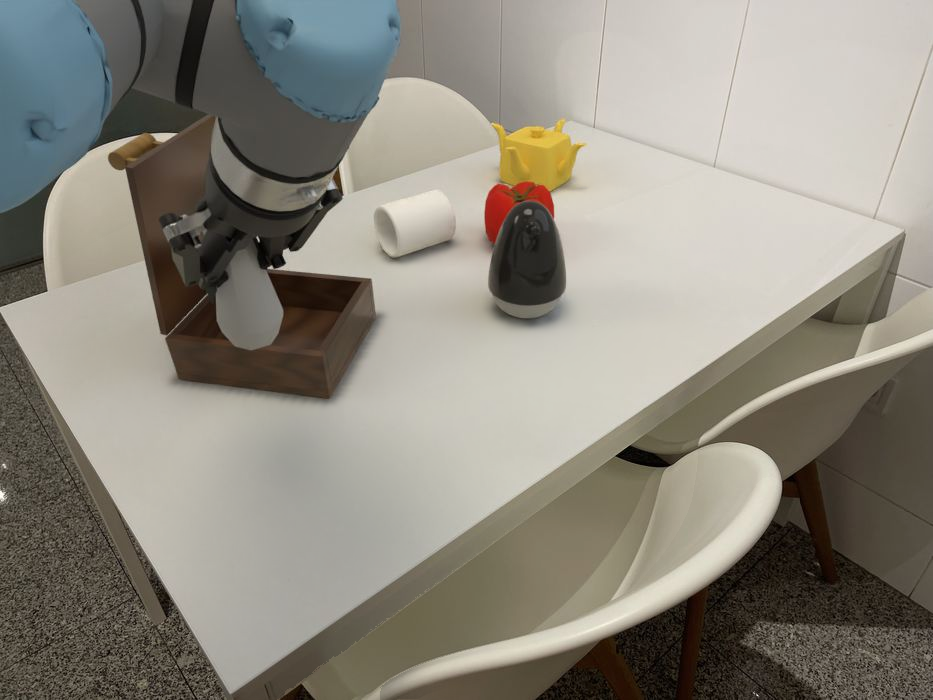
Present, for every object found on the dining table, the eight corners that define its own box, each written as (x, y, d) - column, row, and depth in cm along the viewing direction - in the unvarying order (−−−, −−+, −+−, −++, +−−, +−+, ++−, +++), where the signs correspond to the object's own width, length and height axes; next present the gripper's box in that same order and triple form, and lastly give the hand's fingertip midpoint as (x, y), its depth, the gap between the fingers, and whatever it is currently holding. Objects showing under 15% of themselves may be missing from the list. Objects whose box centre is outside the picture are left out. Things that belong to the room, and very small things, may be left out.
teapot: (490, 167, 134) (490, 117, 128) (562, 162, 135) (565, 112, 130) (505, 199, 122) (506, 145, 116) (583, 192, 124) (588, 139, 118)
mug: (457, 247, 108) (455, 199, 103) (401, 266, 103) (397, 217, 99) (417, 220, 116) (414, 174, 111) (364, 236, 112) (358, 189, 107)
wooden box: (376, 317, 93) (371, 278, 89) (329, 399, 79) (322, 356, 76) (244, 303, 96) (235, 265, 92) (178, 379, 83) (164, 338, 79)
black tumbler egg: (492, 332, 89) (492, 223, 80) (484, 290, 98) (484, 187, 89) (571, 327, 90) (580, 219, 81) (557, 286, 98) (563, 183, 89)
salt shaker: (295, 343, 64) (268, 212, 56) (232, 363, 61) (195, 229, 54) (276, 313, 68) (249, 187, 60) (217, 330, 66) (180, 202, 58)
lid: (219, 112, 80) (164, 102, 81) (132, 168, 67) (67, 156, 67) (237, 263, 92) (189, 253, 93) (167, 335, 79) (111, 324, 79)
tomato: (485, 261, 104) (484, 205, 99) (484, 225, 114) (483, 172, 109) (556, 260, 104) (560, 204, 99) (549, 224, 114) (552, 171, 108)
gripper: (172, 252, 40) (159, 351, 61) (404, 181, 48) (323, 291, 68) (116, 137, 40) (123, 275, 61) (356, 85, 48) (290, 223, 69)
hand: (229, 283), depth 65 cm, fingers closed on salt shaker, 3 cm apart
